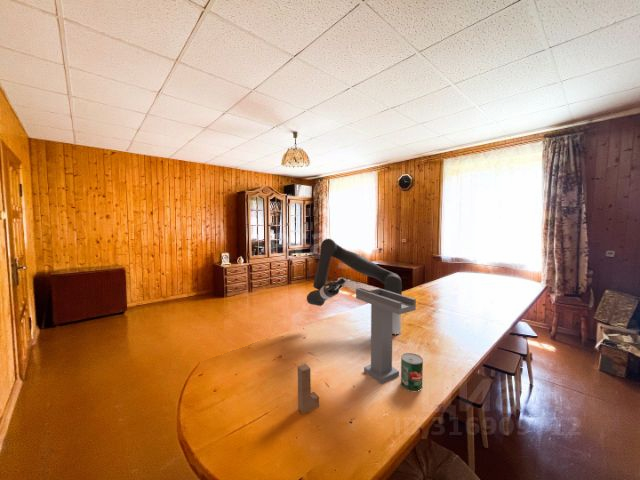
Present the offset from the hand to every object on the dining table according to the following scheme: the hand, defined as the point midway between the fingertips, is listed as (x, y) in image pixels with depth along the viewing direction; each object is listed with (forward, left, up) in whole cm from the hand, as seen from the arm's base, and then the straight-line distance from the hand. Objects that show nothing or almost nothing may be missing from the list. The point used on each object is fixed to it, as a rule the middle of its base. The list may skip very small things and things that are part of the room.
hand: (346, 279), depth 127 cm
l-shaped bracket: (+43, -7, -35) cm, 56 cm away
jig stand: (+17, +17, -35) cm, 43 cm away
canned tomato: (+22, +28, -35) cm, 51 cm away
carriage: (+5, +5, -3) cm, 8 cm away
